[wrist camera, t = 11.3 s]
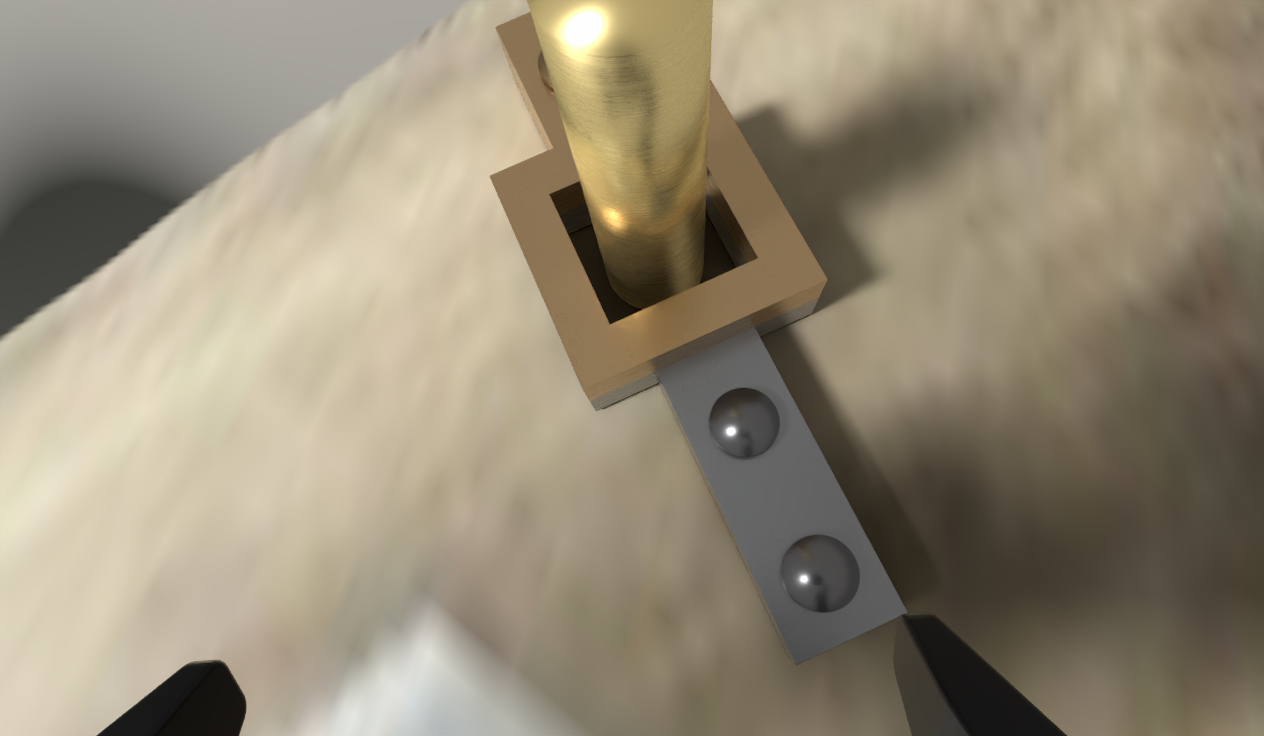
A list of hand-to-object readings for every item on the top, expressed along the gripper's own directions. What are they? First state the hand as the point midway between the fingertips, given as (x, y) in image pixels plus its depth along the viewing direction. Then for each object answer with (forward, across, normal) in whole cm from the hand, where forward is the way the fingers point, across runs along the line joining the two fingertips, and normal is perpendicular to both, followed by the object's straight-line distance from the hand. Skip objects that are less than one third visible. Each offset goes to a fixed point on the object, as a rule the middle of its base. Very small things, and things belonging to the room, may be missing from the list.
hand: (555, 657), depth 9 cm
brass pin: (+18, -2, +1) cm, 18 cm away
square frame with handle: (+17, -2, +3) cm, 17 cm away
